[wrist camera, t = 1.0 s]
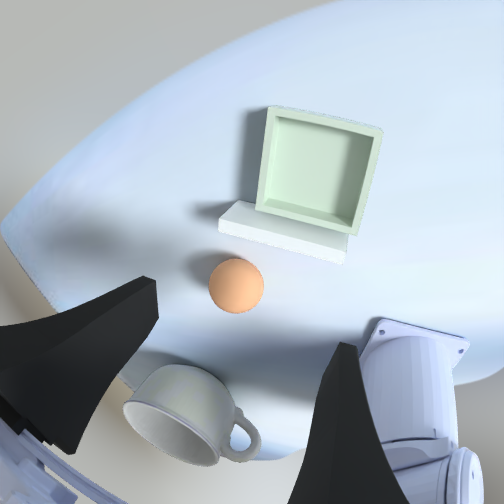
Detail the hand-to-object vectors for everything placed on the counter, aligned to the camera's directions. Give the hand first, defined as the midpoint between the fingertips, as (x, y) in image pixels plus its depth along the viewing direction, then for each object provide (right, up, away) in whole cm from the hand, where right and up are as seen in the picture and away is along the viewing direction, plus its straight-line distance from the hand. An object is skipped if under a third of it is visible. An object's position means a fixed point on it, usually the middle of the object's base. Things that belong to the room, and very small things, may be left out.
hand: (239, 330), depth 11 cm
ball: (-1, +1, +9) cm, 9 cm away
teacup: (-4, -12, +20) cm, 24 cm away
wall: (+3, +5, +8) cm, 10 cm away
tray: (+4, +8, +5) cm, 10 cm away
